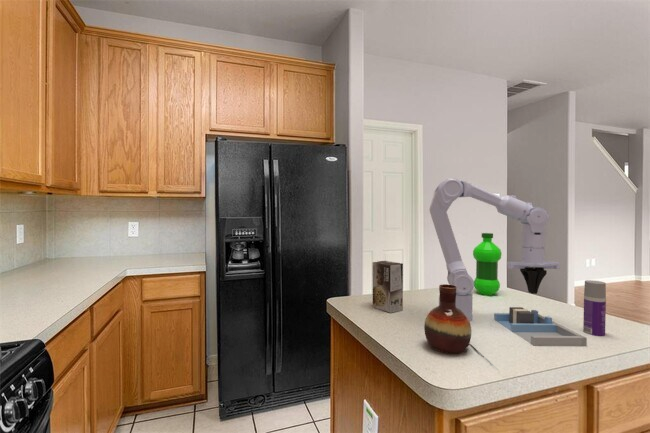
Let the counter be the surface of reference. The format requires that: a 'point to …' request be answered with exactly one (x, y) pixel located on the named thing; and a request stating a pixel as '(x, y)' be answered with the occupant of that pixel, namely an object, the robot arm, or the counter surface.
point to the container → (594, 308)
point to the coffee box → (388, 286)
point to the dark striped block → (520, 315)
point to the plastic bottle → (487, 266)
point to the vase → (447, 324)
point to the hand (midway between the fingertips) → (532, 293)
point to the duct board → (542, 331)
